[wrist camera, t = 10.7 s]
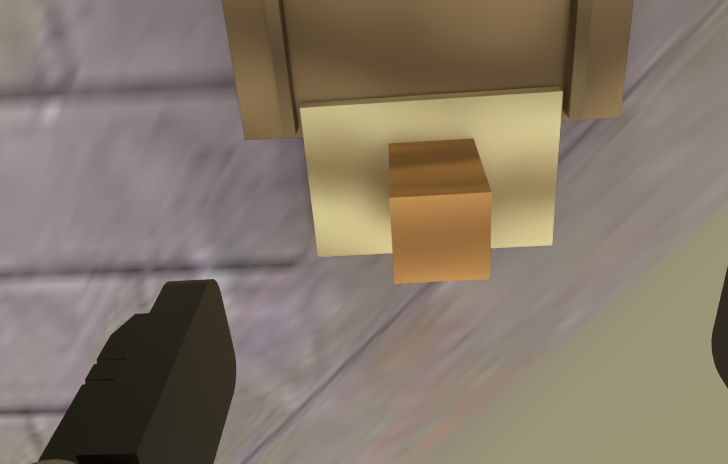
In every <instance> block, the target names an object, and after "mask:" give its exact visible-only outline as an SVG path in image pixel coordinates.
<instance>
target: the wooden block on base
mask: <svg viewBox="0 0 728 464" xmlns="http://www.w3.org/2000/svg"><path fill="white" fill-rule="evenodd" d="M562 96H563V91H562V90H561V88H560V87H559V86H555V87H539V88H524V89H508V90H493V91H477V92H462V93H446V94H431V95H415V96H400V97H384V98H369V99H353V100H338V101H322V102H307V103H301V106H300V114H301V122H302V130H303V138H304V146H305V155H306V163H307V171H308V179H309V187H310V195H311V203H312V211H313V219H314V227H315V235H316V243H317V251H318V257H324V256H344V255H364V254H384V253H393V268H394V283H415V282H437V281H458V280H479V279H490V257H491V248H503V247H523V246H543V245H552V239H553V224H554V210H555V196H556V182H557V167H558V153H559V139H560V124H561V110H562Z"/></svg>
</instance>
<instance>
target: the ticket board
mask: <svg viewBox="0 0 728 464" xmlns="http://www.w3.org/2000/svg"><path fill="white" fill-rule="evenodd" d="M222 5H223V11H224V17H225V23H226V28H227V34H228V40H229V46H230V52H231V58H232V64H233V70H234V76H235V82H236V88H237V94H238V99H239V105H240V111H241V117H242V123H243V129H244V135H245V140H256V139H273V138H289V137H303V130H302V122H301V114H300V106H301V103H307V102H322V101H338V100H353V99H369V98H384V97H400V96H415V95H431V94H446V93H462V92H477V91H493V90H508V89H524V88H539V87H555V86H559V87H560V88H561V90H562V91H563V96H562V110H561V121H566V120H582V119H599V118H615V117H620V114H621V105H622V96H623V88H624V79H625V70H626V61H627V53H628V44H629V35H630V26H631V17H632V9H633V0H222Z"/></svg>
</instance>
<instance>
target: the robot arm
mask: <svg viewBox="0 0 728 464" xmlns="http://www.w3.org/2000/svg"><path fill="white" fill-rule="evenodd" d="M712 354H713V359H714V363H715V366H716V369H717V371H718V373H719V375H720V377H721V378H722V380H723V382H724V383H725V385H726V386H727V388H728V268H727V272H726V276H725V280H724V285H723V289H722V293H721V298H720V302H719V306H718V311H717V315H716V320H715V324H714V328H713V333H712ZM235 383H236V359H235V352H234V348H233V343H232V339H231V335H230V330H229V326H228V322H227V318H226V313H225V309H224V305H223V300H222V296H221V292H220V288H219V286H218V284H217V282H216V281H215V280H214V279H207V280H187V281H169V282H167V283H166V284H165V285H164V286H163V288H162V290H161V292H160V294H159V296H158V298H157V300H156V302H155V303H154V305H153V307H152V309H151V311H150V313H144V314H135V315H134V316H132V317H131V318H130V319H129V320H128V321H127V322H125V323H124V324H123V325H122V326H121V327H120V328H118V329H117V330H116V331H115V332H114V333H113V334H112V335H111V336H110V337H109V339H108V341H107V342H106V344H105V346H104V348H103V349H102V351H101V353H100V355H99V356H98V358H97V364H94V365H93V367H92V368H91V370H90V372H89V374H88V375H87V377H86V379H85V385H82V386H81V388H80V389H79V391H78V393H77V394H76V396H75V398H74V400H73V401H72V403H71V405H70V407H69V408H68V410H67V412H66V413H65V415H64V417H63V419H62V420H61V422H60V424H59V426H58V427H57V429H56V431H55V433H54V434H53V436H52V438H51V439H50V441H49V443H48V445H47V446H46V448H45V450H44V452H43V453H42V455H41V457H40V458H39V460H38V462H35V463H31V464H213V463H214V460H215V456H216V453H217V449H218V446H219V442H220V439H221V435H222V432H223V428H224V425H225V421H226V418H227V414H228V411H229V407H230V404H231V400H232V397H233V394H234V389H235Z"/></svg>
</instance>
